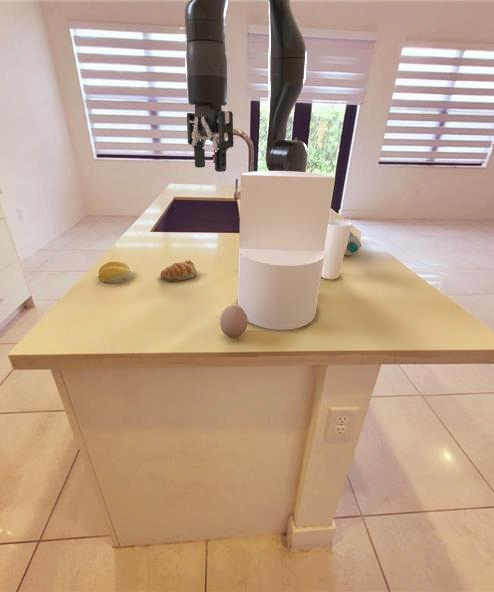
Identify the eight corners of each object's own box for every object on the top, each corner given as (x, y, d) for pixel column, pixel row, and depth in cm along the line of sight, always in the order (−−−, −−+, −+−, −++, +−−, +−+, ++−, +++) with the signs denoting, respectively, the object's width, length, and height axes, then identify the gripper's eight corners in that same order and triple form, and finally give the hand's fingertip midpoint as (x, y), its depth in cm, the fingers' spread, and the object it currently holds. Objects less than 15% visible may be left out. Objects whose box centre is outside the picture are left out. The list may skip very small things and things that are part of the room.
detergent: (313, 235, 120) (328, 257, 98) (317, 217, 117) (334, 235, 95) (346, 239, 121) (369, 262, 99) (351, 221, 118) (376, 240, 95)
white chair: (239, 289, 78) (242, 169, 65) (308, 292, 78) (325, 172, 65) (236, 328, 63) (239, 181, 50) (322, 331, 63) (348, 184, 50)
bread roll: (99, 287, 78) (95, 272, 76) (99, 273, 85) (97, 259, 83) (133, 283, 80) (131, 268, 78) (131, 269, 88) (129, 256, 86)
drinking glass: (345, 276, 87) (356, 222, 80) (333, 283, 83) (343, 227, 76) (324, 269, 91) (332, 218, 84) (311, 276, 87) (319, 222, 80)
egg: (226, 326, 63) (226, 296, 60) (250, 332, 62) (251, 301, 59) (215, 340, 59) (215, 309, 56) (241, 346, 58) (242, 315, 54)
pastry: (167, 285, 79) (166, 271, 78) (156, 277, 84) (154, 263, 82) (199, 276, 85) (198, 263, 83) (186, 269, 89) (185, 256, 88)
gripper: (245, 73, 55) (244, 172, 63) (205, 81, 65) (208, 165, 73) (208, 68, 51) (211, 174, 59) (172, 77, 61) (178, 167, 69)
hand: (209, 169), depth 66 cm, fingers open, 8 cm apart
